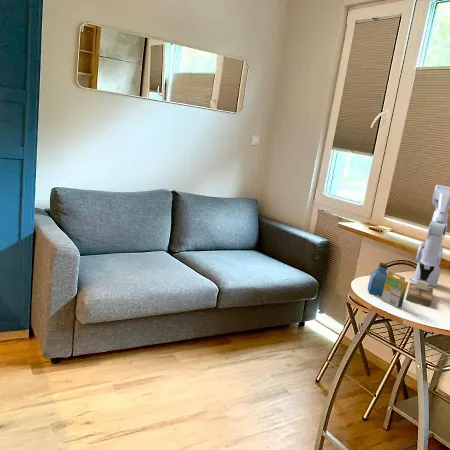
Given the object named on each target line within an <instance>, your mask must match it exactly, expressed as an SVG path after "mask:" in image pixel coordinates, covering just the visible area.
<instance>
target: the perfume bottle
mask: <svg viewBox="0 0 450 450" xmlns="http://www.w3.org/2000/svg"><path fill="white" fill-rule="evenodd" d="M387 271H388V264H387V263H385V262H379V265H378V266H377V269H375V270H374V271H372V272H371V274H370V277H369V281H368V285H367V291H368V294H369V295H374V296H378V297H382V293H383V290H384V286H385V282H386V279H387V275H388V272H387Z"/></svg>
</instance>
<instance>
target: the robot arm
mask: <svg viewBox="0 0 450 450" xmlns="http://www.w3.org/2000/svg"><path fill="white" fill-rule="evenodd" d="M431 199H432V200H431V202H432V203H431V204H432V205H433V206H435V210H434V212H433V215H432V219H431V221H430V223H429V226H428V229H427V234H426V235H427V236H426V240H425V241H422V242H421V243H420V244H419V247H418V248H417V249H418V250H417V253H416V257H415V260H416V261H417V265H416V269H415V272H414V275H413V277H412V276H409V279H410V280H411V281H413V283H415V284H416V283H417V279H421V280H425V281H428V282H429V285H428V287H438V282H439V278H440V275H441V267H440V266H439V265H440V264H441V260H442V256H443V251H444V249H443V247H442V243H443V240H444V238H445V236H446V233H447V230H448V219H449V215H450V214H449V212H448V211H449V210H450V186H446V185H441V184H436V185H435V187H434V192H433V194H432V198H431Z"/></svg>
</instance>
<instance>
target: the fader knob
mask: <svg viewBox="0 0 450 450" xmlns="http://www.w3.org/2000/svg"><path fill="white" fill-rule="evenodd" d="M415 284H416V286H415V288H419V289H422V290H426V291H427V288H428V287H429V286H428V285H429V282H428V281H425V280H421V279H417V283H416V282H415Z"/></svg>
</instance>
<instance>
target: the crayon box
mask: <svg viewBox="0 0 450 450" xmlns="http://www.w3.org/2000/svg"><path fill="white" fill-rule="evenodd" d="M387 271H388V272H387V274H388V275H387V279H386V282H385V286H384V290H383V293H382V296H380V297H381V298H380V300H381V302H382V301H383V302H384V303H387V304H389V305H391V306H393V307H396V308H397V309H398V308H402V307H403V303H404V298H405V297H406V293H407V292H406V291H407V290H408V289H407V288H408V286H409V285H408V284H409V282H408V281H406V277H404V276H401V275H399V274H397V273H395V272H392V271H389V270H387Z"/></svg>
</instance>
